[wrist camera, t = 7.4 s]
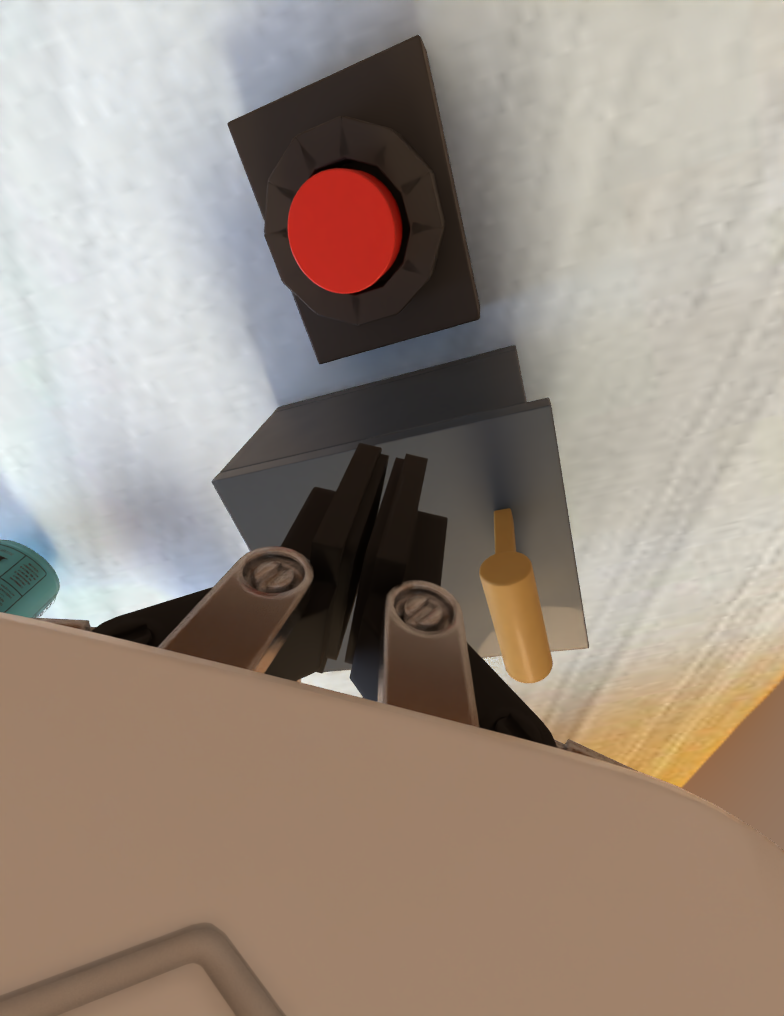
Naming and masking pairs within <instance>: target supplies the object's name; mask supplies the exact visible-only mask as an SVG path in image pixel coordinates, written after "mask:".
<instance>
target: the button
mask: <svg viewBox="0 0 784 1016" xmlns="http://www.w3.org/2000/svg"><path fill="white" fill-rule="evenodd" d="M402 229H403V228H402V219H401V214H400V211H399V207H398V205H397V203H396V200H395V198H394V197H393V195H392V193H391V192H390V191H389V189H388V188H387V187H386V186H385V185H384V184H383V183H382V182H381V181H380V180H379V179H377V178H376V177H375V176H373V175H371V174H369V173H367V172H364V171H360V170H355V169H343V168H334V169H327V170H324V171H321V172H319V173H317V174H315V175H313V176H312V177H310V178H309V179H308V180H307V181H306V182H305V183H304V184H303V185H302V186H301V187H300V189H299V190H298V191H297V193H296V195H295V197H294V199H293V201H292V204H291V207H290V211H289V216H288V238H289V243H290V247H291V250H292V253H293V256H294V258H295V260H296V262H297V264H298V265H299V267H300V268H301V270H302V271H303V272H304V274H305V275H306V276H307V277H308V278H309V279H310V280H311V281H313V282H314V283H315V284H317V285H318V286H320V287H322V288H324V289H326V290H328V291H331V292H335V293H341V294H349V293H355V292H359V291H362V290H364V289H366V288H368V287H370V286H371V285H373V284H374V283H375V282H376V281H378V280H379V279H380V278H381V277H382V276H383V275H384V274H385V273H386V272H387V271H388V270H389V269H390V267H391V266H392V264H393V263H394V261H395V259H396V258H397V255H398V253H399V250H400V246H401V242H402Z"/></svg>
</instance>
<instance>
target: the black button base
mask: <svg viewBox="0 0 784 1016" xmlns="http://www.w3.org/2000/svg"><path fill="white" fill-rule="evenodd" d="M228 127H229V130H230V132H231V135H232V137H233V140H234V143H235V145H236V148H237V151H238V153H239V156H240V158H241V161H242V164H243V166H244V169H245V171H246V174H247V177H248V179H249V182H250V185H251V187H252V190H253V192H254V195H255V198H256V200H257V203H258V205H259V208H260V211H261V213H262V216H263V219H264V221H265V227H264V233H265V235H264V236H265V239H266V241H267V244H268V246H269V249H270V252H271V254H272V257H273V259H274V262H275V264H276V267H277V270H278V272H279V275H280V277H281V280H282V282H283V283H284V284H285V285H286V286H287V287H288V288H289V289H290V290H291V292H292V294H293V297H294V300H295V302H296V305H297V307H298V310H299V313H300V315H301V318H302V320H303V323H304V326H305V328H306V331H307V333H308V336H309V339H310V341H311V344H312V347H313V349H314V352H315V354H316V357H317V360H318V362H319V364H323V363H327V362H330V361H334V360H337V359H341V358H344V357H348V356H351V355H355V354H358V353H362V352H365V351H369V350H373V349H376V348H380V347H383V346H387V345H390V344H394V343H397V342H401V341H404V340H408V339H411V338H415V337H418V336H422V335H426V334H429V333H433V332H436V331H440V330H443V329H447V328H450V327H454V326H457V325H461V324H464V323H468V322H471V321H475V320H478V319H479V318H480V304H479V299H478V295H477V290H476V285H475V280H474V275H473V271H472V266H471V261H470V256H469V252H468V247H467V242H466V237H465V233H464V228H463V223H462V218H461V213H460V209H459V204H458V199H457V194H456V190H455V185H454V180H453V175H452V170H451V166H450V161H449V156H448V151H447V147H446V142H445V137H444V132H443V127H442V123H441V118H440V113H439V108H438V104H437V99H436V94H435V89H434V84H433V80H432V75H431V70H430V65H429V61H428V56H427V51H426V49H425V46H424V44H423V42H422V40H421V37H420V36H419V35H416V36H414V37H412V38H410V39H408V40H405V41H403V42H401V43H399V44H397V45H395V46H392V47H390V48H388V49H386V50H384V51H382V52H379V53H377V54H375V55H373V56H371V57H369V58H366V59H364V60H362V61H360V62H358V63H356V64H353V65H351V66H349V67H347V68H345V69H343V70H340V71H338V72H336V73H334V74H332V75H330V76H327V77H325V78H323V79H321V80H319V81H317V82H314V83H312V84H310V85H308V86H306V87H304V88H301V89H299V90H297V91H295V92H293V93H291V94H288V95H286V96H284V97H282V98H280V99H278V100H275V101H273V102H271V103H269V104H267V105H265V106H262V107H260V108H258V109H256V110H254V111H252V112H249V113H247V114H245V115H243V116H241V117H239V118H236V119H234V120H232V121H230V122H228ZM334 168H343V169H355V170H360V171H364V172H367V173H369V174H371V175H373V176H375V177H376V178H377V179H379V180H380V181H381V182H382V183H383V184H384V185H385V186H386V187H387V188H388V189H389V191H390V192H391V193H392V195H393V197H394V198H395V200H396V203H397V205H398V207H399V211H400V214H401V219H402V228H403V229H402V242H401V246H400V250H399V253H398V255H397V258H396V259H395V261H394V263H393V264H392V266H391V267H390V269H389V270H388V271H387V272H386V273H385V274H384V275H383V276H382V277H381V278H380V279H379V280H378V281H376V282H375V283H374V284H373V285H371V286H370V287H368V288H366V289H364V290H362V291H359V292H355V293H349V294H341V293H335V292H331V291H328V290H326V289H324V288H322V287H320V286H318V285H317V284H315V283H314V282H313V281H311V280H310V279H309V278H308V277H307V276H306V275H305V274H304V272H303V271H302V270H301V268H300V267H299V265H298V264H297V262H296V260H295V258H294V256H293V253H292V250H291V247H290V243H289V238H288V216H289V211H290V207H291V204H292V201H293V199H294V197H295V195H296V193H297V191H298V190H299V189H300V187H301V186H302V185H303V184H304V183H305V182H306V181H307V180H308V179H309V178H310V177H312V176H313V175H315V174H317V173H319V172H321V171H324V170H327V169H334Z"/></svg>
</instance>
